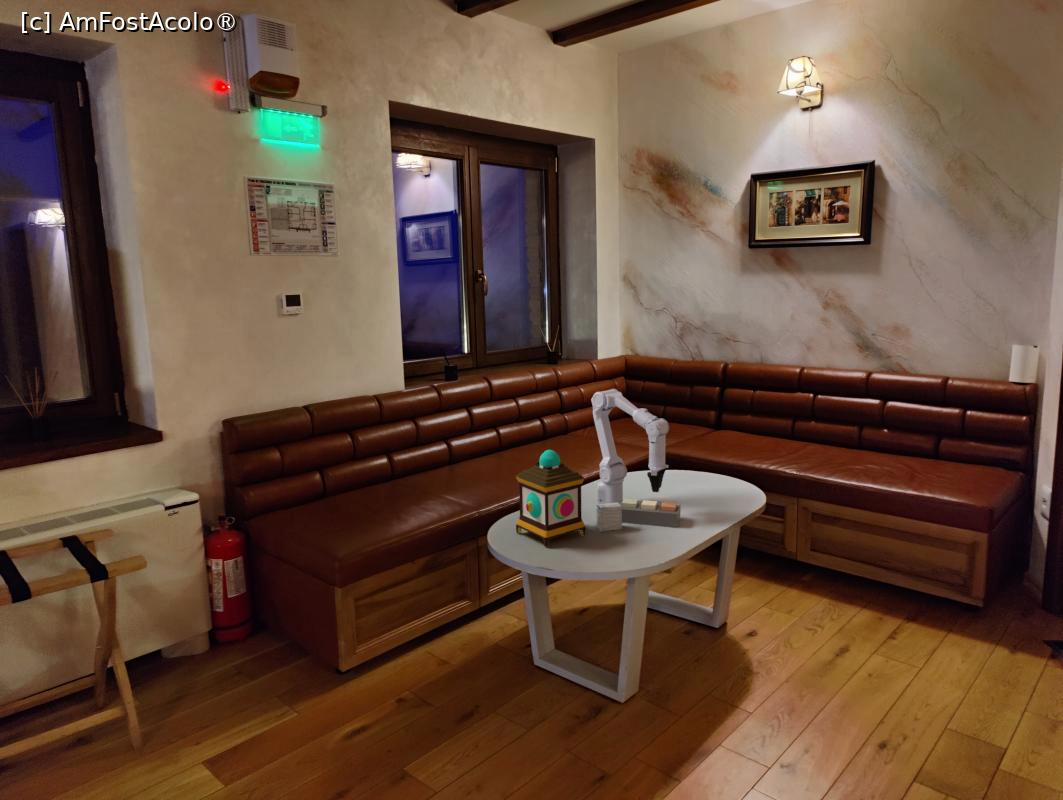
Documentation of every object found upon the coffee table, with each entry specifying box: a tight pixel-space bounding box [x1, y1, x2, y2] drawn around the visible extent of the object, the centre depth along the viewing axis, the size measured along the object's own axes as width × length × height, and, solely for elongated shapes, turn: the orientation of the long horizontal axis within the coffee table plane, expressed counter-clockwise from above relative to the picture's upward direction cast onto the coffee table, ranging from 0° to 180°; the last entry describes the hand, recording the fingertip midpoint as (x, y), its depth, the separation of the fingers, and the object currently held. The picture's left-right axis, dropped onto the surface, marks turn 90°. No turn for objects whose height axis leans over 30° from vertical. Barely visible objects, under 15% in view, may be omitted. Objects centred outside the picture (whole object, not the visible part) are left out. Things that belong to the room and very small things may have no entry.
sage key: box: [622, 498, 639, 508], centre depth 265 cm, size 5×5×3 cm
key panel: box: [620, 500, 682, 529], centre depth 263 cm, size 21×10×5 cm, turn 72°
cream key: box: [641, 499, 658, 510], centre depth 263 cm, size 5×5×3 cm
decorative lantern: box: [515, 449, 587, 548], centre depth 249 cm, size 20×20×30 cm
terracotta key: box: [661, 501, 678, 512], centre depth 261 cm, size 5×5×3 cm
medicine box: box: [596, 503, 623, 532], centre depth 255 cm, size 8×4×9 cm, turn 102°
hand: (656, 489), depth 265 cm, fingers open, 5 cm apart
